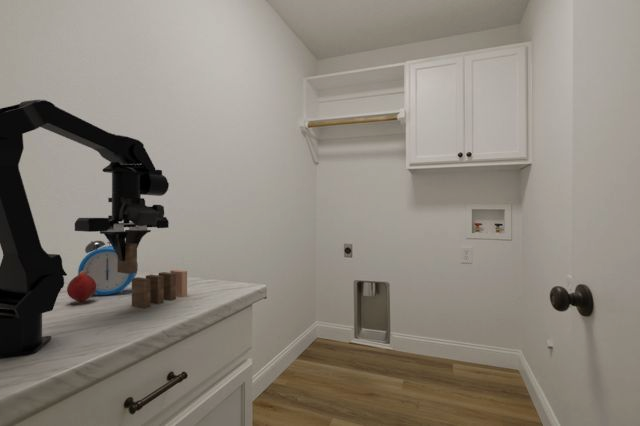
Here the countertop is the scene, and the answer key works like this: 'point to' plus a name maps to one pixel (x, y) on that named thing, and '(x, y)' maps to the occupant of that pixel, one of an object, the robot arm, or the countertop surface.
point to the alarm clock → (104, 269)
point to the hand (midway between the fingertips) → (126, 260)
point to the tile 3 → (156, 289)
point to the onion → (81, 287)
